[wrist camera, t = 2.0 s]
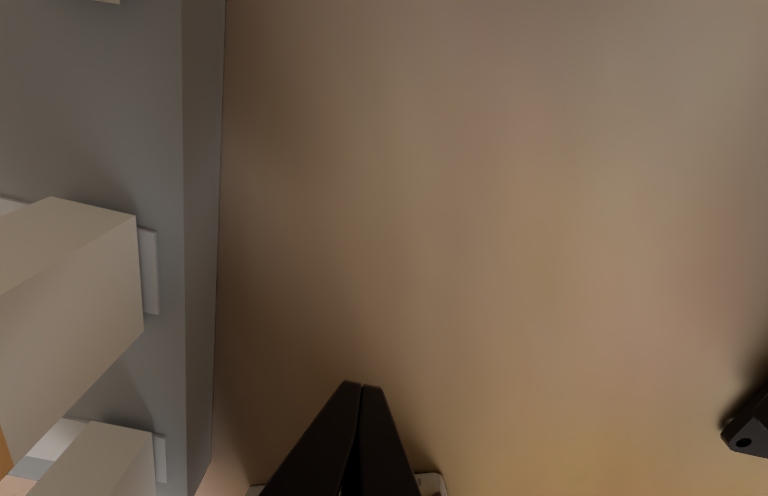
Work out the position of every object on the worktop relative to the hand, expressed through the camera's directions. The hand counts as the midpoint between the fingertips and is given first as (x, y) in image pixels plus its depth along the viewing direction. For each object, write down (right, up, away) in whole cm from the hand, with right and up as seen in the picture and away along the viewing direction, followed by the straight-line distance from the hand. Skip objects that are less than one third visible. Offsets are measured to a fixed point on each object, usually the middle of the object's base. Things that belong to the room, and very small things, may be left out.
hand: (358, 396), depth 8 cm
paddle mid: (-7, +3, +2) cm, 8 cm away
